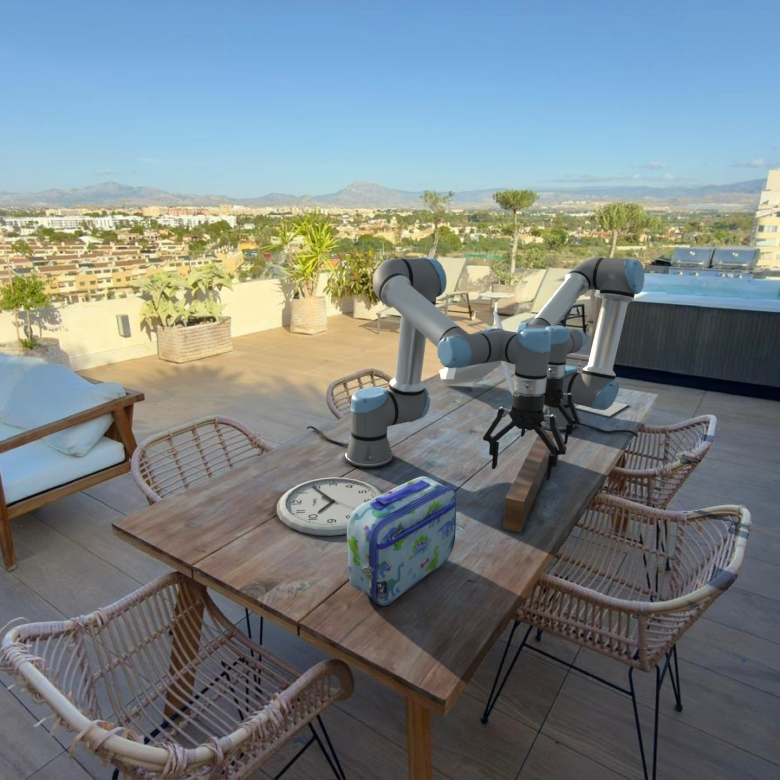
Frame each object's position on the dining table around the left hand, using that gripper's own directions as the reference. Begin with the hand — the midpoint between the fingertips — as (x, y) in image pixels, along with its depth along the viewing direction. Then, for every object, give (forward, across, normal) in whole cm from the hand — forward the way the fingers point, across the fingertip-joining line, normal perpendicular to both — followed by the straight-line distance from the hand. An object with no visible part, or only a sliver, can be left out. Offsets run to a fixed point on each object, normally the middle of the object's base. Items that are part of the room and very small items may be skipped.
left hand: (520, 472), depth 132 cm
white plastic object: (+14, -39, +105) cm, 113 cm away
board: (+14, 0, +20) cm, 25 cm away
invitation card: (+14, +14, +110) cm, 111 cm away
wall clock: (+14, -47, -14) cm, 51 cm away
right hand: (+6, 0, +41) cm, 41 cm away
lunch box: (+14, -17, -34) cm, 41 cm away
